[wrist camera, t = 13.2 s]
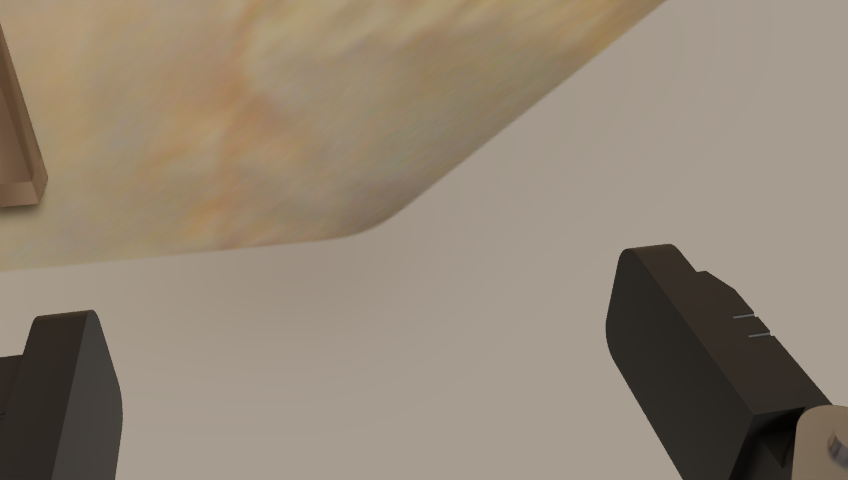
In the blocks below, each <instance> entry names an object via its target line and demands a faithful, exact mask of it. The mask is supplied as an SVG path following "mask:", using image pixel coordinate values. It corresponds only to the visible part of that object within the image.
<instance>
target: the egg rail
mask: <svg viewBox="0 0 848 480" xmlns="http://www.w3.org/2000/svg"><path fill="white" fill-rule="evenodd" d="M47 179H48V175H47V172H46V169H45V166H44V163H43V159H42V156H41V153H40V150H39V147H38V143H37V140H36V137H35V134H34V131H33V127H32V124H31V121H30V118H29V115H28V111H27V108H26V105H25V102H24V98H23V95H22V92H21V89H20V86H19V82H18V79H17V76H16V73H15V70H14V66H13V63H12V60H11V57H10V54H9V50H8V47H7V44H6V41H5V38H4V34H3V31H2V28H1V25H0V207H7V206H18V205H29V204H39V202H40V199H41V196H42V193H43V190H44V188H45V185H46V182H47Z"/></svg>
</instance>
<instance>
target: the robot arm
mask: <svg viewBox="0 0 848 480" xmlns="http://www.w3.org/2000/svg"><path fill="white" fill-rule="evenodd" d="M606 338H607V343H608V347H609V351H610V353H611V356H612V358H613V360H614V362H615V363H616V365H617V367H618V369H619V370H620V372H621V374H622V375H623V377H624V379H625V381H626V382H627V384H628V386H629V388H630V389H631V391H632V393H633V394H634V396H635V398H636V400H637V401H638V403H639V405H640V406H641V408H642V410H643V412H644V413H645V415H646V416H647V419H648V420H649V422H650V424H651V425H652V427H653V429H654V431H655V432H656V434H657V436H658V438H659V439H660V441H661V443H662V445H663V446H664V448H665V450H666V451H667V453H668V455H669V456H670V458H671V460H672V462H673V463H674V465H675V467H676V469H677V470H678V472H679V474H680V476H681V477H682V479H683V480H848V407H845V406H837V405H832V403H831V402H830V401H829V400H828V399H827V398H826V396H825V395H824V394H823V393H822V392H821V390H820V389H819V388H818V387H817V386H816V385H815V383H814V382H813V381H812V380H811V379H810V378H809V376H808V375H807V374H806V373H805V372H804V371H803V369H802V368H801V367H800V366H799V365H798V363H797V362H796V361H795V360H794V359H793V358H792V356H791V355H790V354H789V353H788V352H787V350H786V349H785V348H784V347H783V346H782V345H781V343H780V342H779V341H778V340H777V339H776V338H775V336H771V335H770V330H769V329H768V328H767V327H766V326H765V325H764V323H763V322H762V321H761V320H760V319H759V318H758V317H755V316H754V312H753V310H752V309H751V308H750V307H749V306H748V305H747V304H746V302H745V301H744V300H743V299H742V297H741V296H740V295H739V294H738V293H737V292H736V290H735V289H733V288H732V287H730V286H728V285H727V284H725V283H724V282H722V281H721V280H719V279H718V278H716V277H715V276H713V275H712V274H710V273H708V272H707V271H701V272H696V271H695V269H694V268H693V267H692V266H691V264H690V263H689V262H688V261H687V260H686V258H685V257H684V256H683V255H682V253H681V252H680V251H679V250H678V249H677V248H676V247H675V246H674V245H672V244H663V245H655V246H646V247H637V248H629V249H625V250H624V251H623V252H622V253H621V255H620V257H619V260H618V265H617V270H616V275H615V279H614V284H613V289H612V294H611V299H610V304H609V309H608V313H607V319H606ZM122 415H123V412H122V399H121V392H120V387H119V383H118V380H117V377H116V373H115V370H114V367H113V363H112V360H111V357H110V354H109V350H108V347H107V344H106V341H105V337H104V334H103V331H102V327H101V324H100V321H99V318H98V316H97V314H96V312H95V311H93V310H86V311H78V312H69V313H61V314H52V315H43V316H37V317H36V318H35V319H34V321H33V323H32V326H31V329H30V333H29V336H28V339H27V342H26V346H25V349H24V352H23V355H16V356H8V357H0V480H115V474H116V468H117V461H118V453H119V446H120V439H121V431H122V420H123V417H122Z"/></svg>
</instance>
